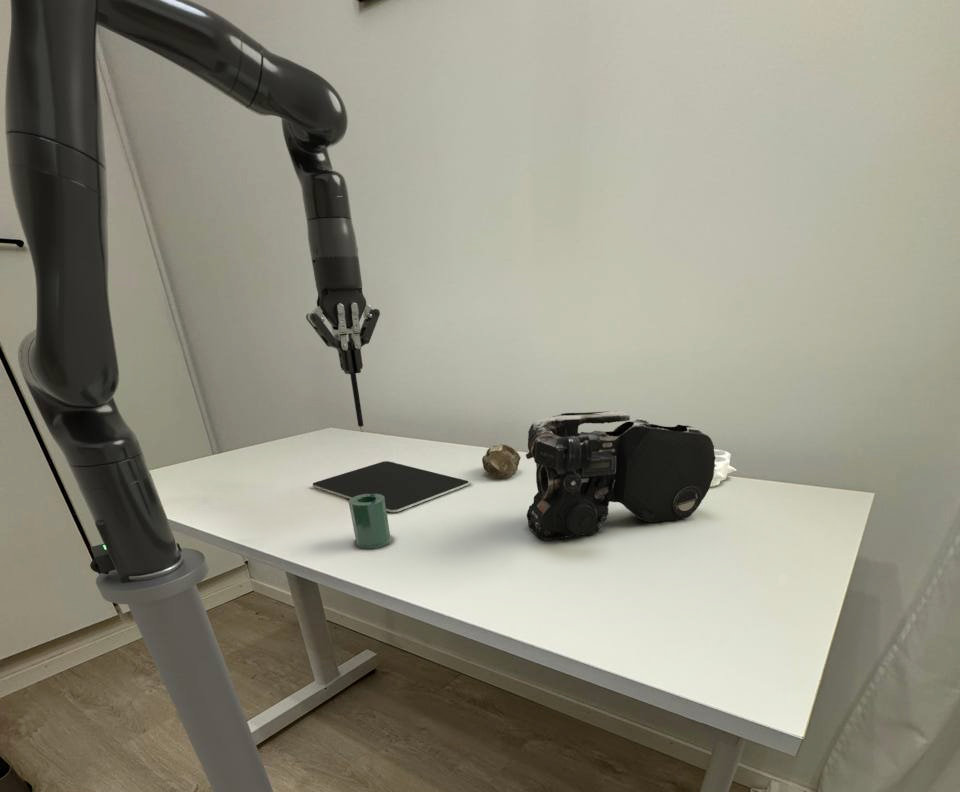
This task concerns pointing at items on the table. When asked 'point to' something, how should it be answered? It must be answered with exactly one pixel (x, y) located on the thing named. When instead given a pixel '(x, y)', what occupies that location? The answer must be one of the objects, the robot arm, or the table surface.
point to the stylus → (355, 390)
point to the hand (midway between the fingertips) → (352, 372)
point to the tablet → (392, 484)
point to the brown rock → (501, 461)
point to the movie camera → (614, 472)
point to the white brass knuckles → (721, 467)
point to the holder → (370, 520)
